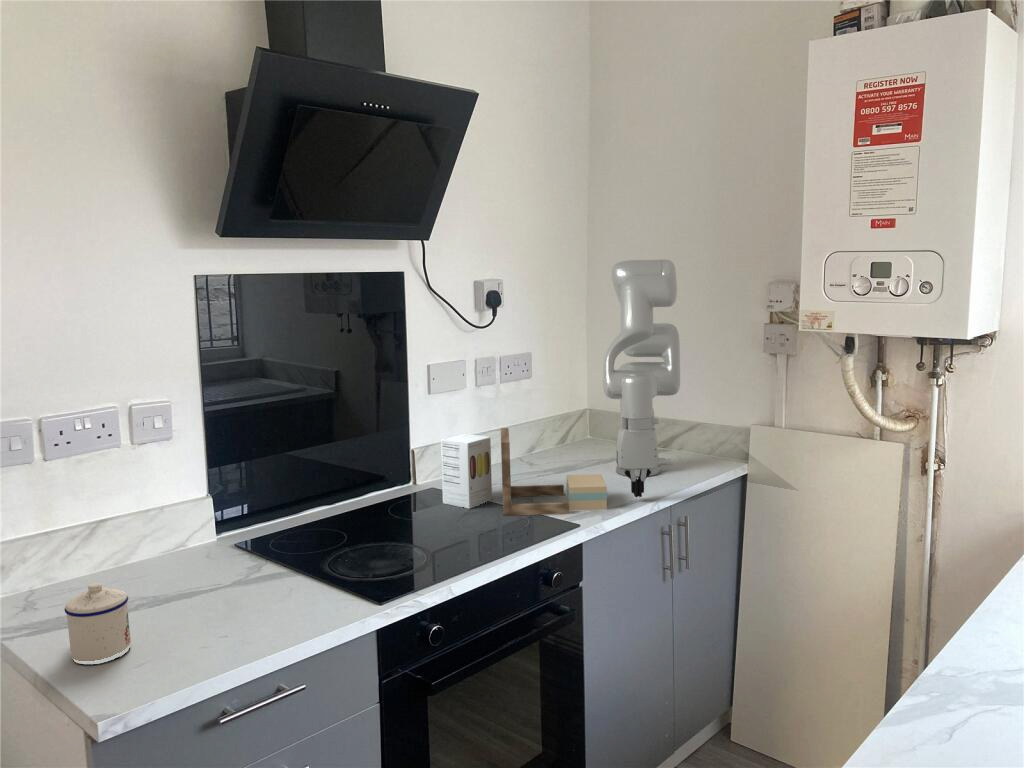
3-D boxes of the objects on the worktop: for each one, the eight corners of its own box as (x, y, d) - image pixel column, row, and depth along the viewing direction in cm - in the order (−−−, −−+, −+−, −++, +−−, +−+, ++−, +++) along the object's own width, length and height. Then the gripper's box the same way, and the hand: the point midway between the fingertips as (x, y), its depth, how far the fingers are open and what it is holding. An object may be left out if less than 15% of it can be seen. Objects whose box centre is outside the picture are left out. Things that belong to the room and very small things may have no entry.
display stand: (563, 493, 218) (562, 426, 215) (569, 513, 200) (568, 440, 198) (502, 495, 217) (500, 428, 215) (503, 515, 200) (501, 442, 198)
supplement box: (469, 509, 206) (467, 443, 204) (441, 504, 212) (439, 439, 209) (493, 500, 214) (491, 436, 211) (466, 495, 219) (463, 432, 217)
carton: (601, 496, 215) (601, 474, 214) (606, 510, 203) (606, 486, 202) (566, 497, 215) (566, 474, 214) (569, 511, 203) (569, 487, 202)
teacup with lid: (142, 652, 133) (135, 583, 132) (82, 673, 127) (74, 600, 125) (113, 630, 142) (106, 565, 140) (55, 649, 135) (47, 581, 134)
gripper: (664, 420, 210) (664, 490, 213) (605, 422, 210) (606, 492, 212) (670, 425, 203) (670, 498, 205) (609, 427, 203) (610, 500, 205)
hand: (637, 495), depth 209 cm, fingers closed
